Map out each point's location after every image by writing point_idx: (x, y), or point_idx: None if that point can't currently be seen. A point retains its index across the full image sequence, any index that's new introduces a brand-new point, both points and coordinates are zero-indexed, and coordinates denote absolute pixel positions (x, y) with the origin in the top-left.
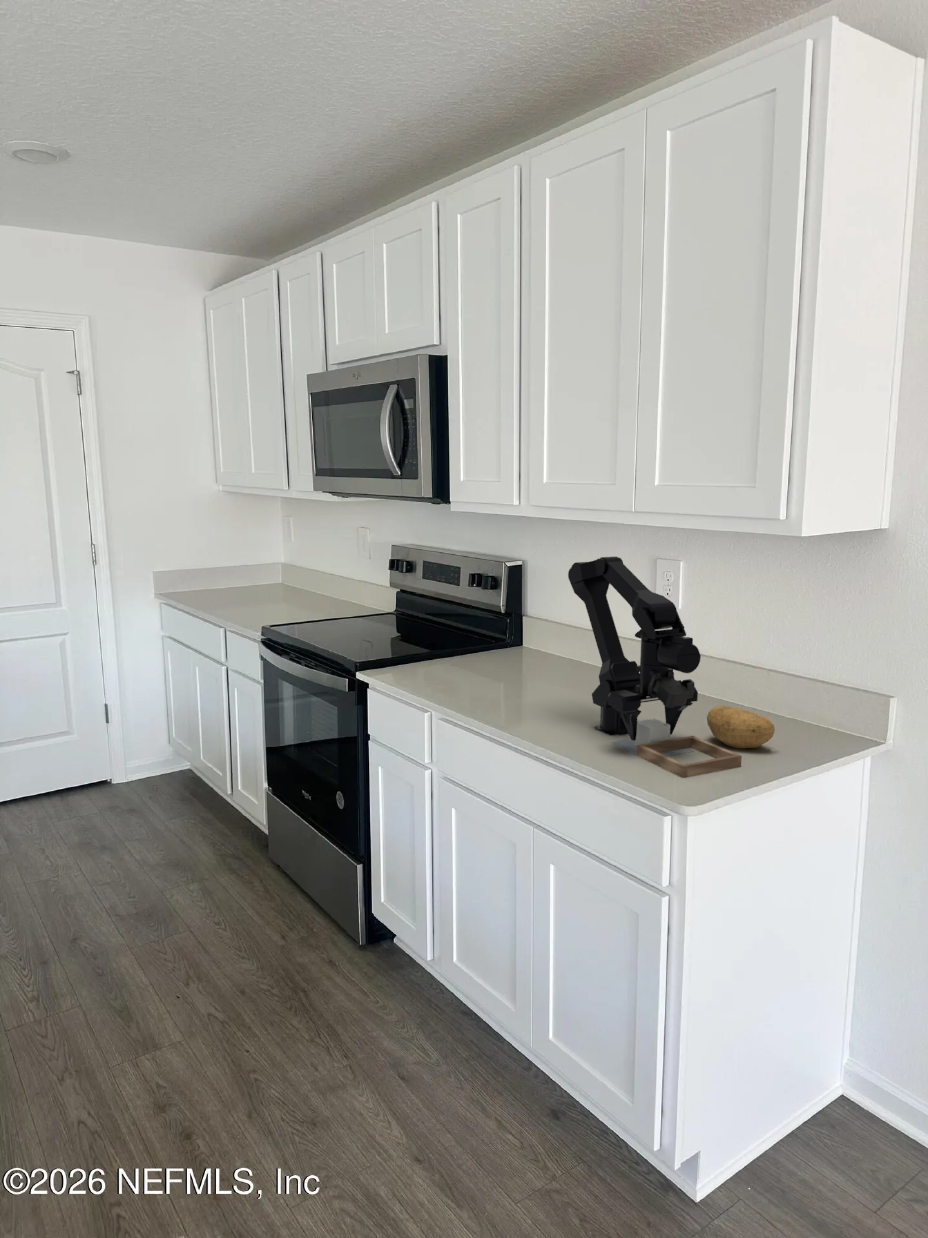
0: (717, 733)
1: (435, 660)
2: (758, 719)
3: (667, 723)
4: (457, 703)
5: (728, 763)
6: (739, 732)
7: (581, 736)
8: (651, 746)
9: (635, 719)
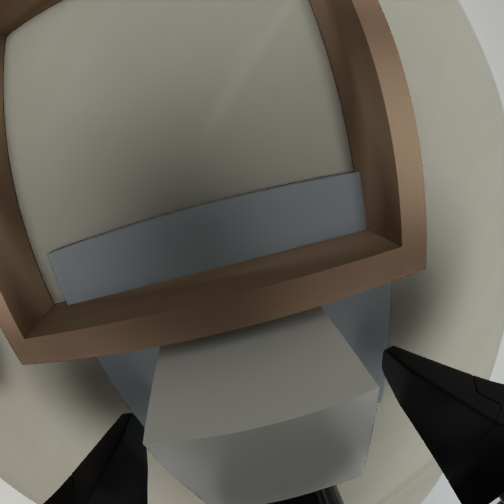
0: None
1: None
2: None
3: (140, 475)
4: (421, 491)
5: None
6: None
7: (395, 438)
8: (343, 257)
9: (499, 408)
